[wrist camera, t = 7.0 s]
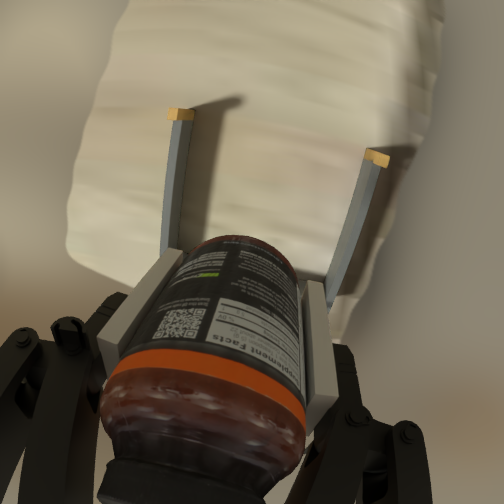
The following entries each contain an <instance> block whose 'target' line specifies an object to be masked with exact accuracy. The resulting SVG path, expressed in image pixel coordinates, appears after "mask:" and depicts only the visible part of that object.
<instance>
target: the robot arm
mask: <svg viewBox="0 0 504 504" xmlns="http://www.w3.org/2000/svg"><path fill="white" fill-rule="evenodd" d="M182 259H183V251H181V250H177V249H173V248H168V249H167V250H166V251H165V252H164V253H163V255H162V256H161V257H160V258H159V259H158V260H157V262H156V263H155V264H154V265H153V266H152V267H151V269H150V270H149V271H148V272H147V273H146V275H145V276H144V277H143V278H142V279H141V281H140V282H139V283H138V284H137V286H136V287H135V288H134V289H133V291H132V292H131V293H130V294H129V295H126V294H123V293H120V292H116V293H114V294H113V295H111V296H109V297H107V298H106V300H105V301H104V302H103V303H102V304H101V306H100V307H99V308H98V309H97V310H96V312H94V314H93V315H92V316H91V317H90V318H89V319H88V321H87V322H86V323H85V324H84V322H83V321H82V320H80V319H79V318H75V317H63V318H60V319H58V320H57V321H55V322H54V323H53V324H52V325H51V327H50V328H51V331H52V334H53V337H54V340H55V342H53V341H47V340H41V339H39V336H38V334H37V332H36V331H35V330H33V329H32V328H28V327H24V328H19V329H17V330H15V331H14V332H13V333H12V334H11V335H10V336H9V337H8V339H7V340H6V341H5V342H4V343H3V345H2V346H1V347H0V504H1V503H2V501H3V498H4V495H5V493H6V490H7V487H8V485H9V483H10V480H11V478H12V476H13V473H14V471H15V469H16V466H17V464H18V462H19V460H20V458H21V455H22V453H23V451H24V449H25V453H24V459H23V464H22V471H21V477H20V485H19V494H18V504H93V490H94V470H95V457H96V446H97V437H98V428H99V420H100V400H101V396H102V393H103V387H102V385H103V384H104V382H105V380H106V379H107V380H109V378H110V376H111V375H112V373H113V371H114V369H115V368H116V366H117V364H118V363H119V361H120V358H121V356H122V355H123V354H124V352H125V350H126V349H127V347H128V345H129V344H130V342H131V341H132V339H133V337H134V336H135V334H136V332H137V331H138V329H139V328H140V326H141V324H142V323H143V321H144V320H145V318H146V316H147V315H148V313H149V312H150V310H151V309H152V307H153V306H154V304H155V302H156V301H157V299H158V298H159V296H160V295H161V293H162V292H163V290H164V288H165V287H166V285H167V284H168V282H169V281H170V279H171V278H172V276H173V275H174V273H175V272H176V271H177V269H178V267H179V266H180V264H181V263H182ZM301 311H302V326H303V345H304V362H305V390H306V416H305V419H306V436H309V435H310V434H311V433H312V431H313V430H314V440H313V441H312V442H311V443H310V445H309V446H308V447H307V448H306V449H305V450H304V454H306V456H305V458H304V461H303V463H302V465H301V468H300V471H299V473H298V475H297V477H296V480H295V482H294V484H293V486H292V488H291V491H290V493H289V495H288V497H287V499H286V501H285V503H284V504H354V503H355V500H356V504H433V501H432V492H431V482H430V474H429V467H428V460H427V454H426V448H425V442H424V437H423V433H422V431H421V429H420V428H419V427H418V426H417V424H415V423H413V422H412V421H407V420H404V421H400V422H398V423H397V424H396V425H394V426H391V425H388V424H385V423H382V422H379V421H377V420H375V419H373V417H372V415H371V413H370V412H369V410H368V409H367V408H365V407H364V406H363V405H362V400H361V394H360V388H359V382H358V377H357V375H356V374H357V371H356V367H355V361H354V356H353V354H352V353H351V351H350V349H349V348H348V346H347V345H340V344H334V343H332V338H331V331H330V325H329V318H328V312H327V306H326V300H325V294H324V288H323V283H320V282H316V281H311V280H307V283H306V286H305V288H304V291H303V294H302V297H301ZM25 447H26V448H25Z"/></svg>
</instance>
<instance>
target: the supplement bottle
mask: <svg viewBox="0 0 504 504" xmlns="http://www.w3.org/2000/svg"><path fill="white" fill-rule="evenodd" d="M305 416H306V390H305V362H304V345H303V326H302V311H301V298H300V291H299V284H298V279H297V277H296V273H295V271H294V269H293V267H292V266H291V264H290V263H289V261H288V260H287V259H286V258H285V257H284V256H283V255H282V254H281V253H280V252H279V251H278V250H277V249H275V248H274V247H273V246H271V245H269V244H267V243H266V242H264V241H261V240H259V239H256V238H253V237H249V236H241V235H225V236H219V237H215V238H213V239H210V240H207V241H205V242H203V243H202V244H200V245H198V246H197V247H195V248H194V249H193V250H192V251H191V252H190V253H189V255H188V256H187V257H186V258H185V259H184V260H183V262H182V263H181V264H180V266H179V267H178V269H177V271H176V272H175V273H174V275H173V276H172V278H171V279H170V281H169V282H168V284H167V285H166V287H165V288H164V290H163V292H162V293H161V295H160V296H159V298H158V299H157V301H156V302H155V304H154V306H153V307H152V309H151V310H150V312H149V313H148V315H147V316H146V318H145V320H144V321H143V323H142V324H141V326H140V328H139V329H138V331H137V332H136V334H135V336H134V337H133V339H132V341H131V342H130V344H129V345H128V347H127V349H126V350H125V352H124V354H123V355H122V356H121V358H120V361H119V363H118V364H117V366H116V368H115V369H114V371H113V373H112V375H111V376H110V378H109V380H108V382H107V384H106V386H105V389H104V391H103V393H102V396H101V400H100V417H101V421H102V424H103V427H104V430H105V431H106V433H107V434H108V436H109V437H110V438H111V439H112V445H113V450H114V456H115V459H113V460H111V461H109V462H108V463H107V465H106V466H107V469H106V472H105V475H104V478H103V481H102V483H101V486H100V488H99V491H98V493H97V498H98V500H99V501H100V502H101V503H102V504H266V503H265V501H264V499H263V498H264V496H265V495H266V494H267V493H268V492H269V491H270V490H271V489H272V488H273V487H274V486H275V485H276V484H277V483H278V482H279V481H280V480H282V479H284V478H285V477H286V476H288V475H289V474H291V473H292V472H293V470H294V469H295V468H296V467H297V466H298V464H299V463H300V461H301V458H302V456H303V454H304V450H305V440H306V419H305Z"/></svg>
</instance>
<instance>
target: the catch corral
mask: <svg viewBox="0 0 504 504" xmlns="http://www.w3.org/2000/svg"><path fill="white" fill-rule="evenodd" d="M194 114H195V110H190V109H180V108H169V111H168V117H167V120H173V126H172V133H171V140H170V147H169V154H168V162H167V171H166V180H165V189H164V200H163V211H162V225H161V240H160V257H161V256H162V255H163V253H164V252H165V251H166V250H167V249H168V248H173V249H177V244H178V233H179V223H180V213H181V204H182V195H183V187H184V179H185V172H186V164H187V157H188V151H189V144H190V138H191V132H192V126H193V120H194ZM389 159H390V156H387V155H385V154H382V153H379V152H377V151H374V150H371V149H368V148H366V152H365V155H364V159H363V163H362V166H361V170H360V174H359V177H358V181H357V184H356V188H355V191H354V194H353V198H352V201H351V204H350V207H349V211H348V214H347V217H346V220H345V223H344V226H343V229H342V232H341V235H340V238H339V241H338V244H337V247H336V250H335V253H334V256H333V259H332V262H331V264H330V267H329V270H328V273H327V275H326V278H325V281H324V284H323V288H324V294H325V300H326V306H327V312H328V314H329V312H330V309H331V307H332V304H333V302H334V300H335V297H336V295H337V293H338V290H339V288H340V285H341V283H342V280H343V278H344V275H345V273H346V270H347V267H348V265H349V262H350V259H351V257H352V254H353V251H354V249H355V246H356V243H357V240H358V238H359V235H360V232H361V229H362V226H363V223H364V220H365V217H366V214H367V211H368V208H369V205H370V202H371V199H372V196H373V192H374V189H375V186H376V182H377V179H378V176H379V172H380V169H381V167H384V168H387V166H388V162H389ZM188 255H189V254H187V253H183V259H182V262H183V260H184V259H185V258H186V257H187V256H188ZM306 283H307V281H304V280H299V279H298V284H299V291H300V298H301V297H302V294H303V291H304V288H305V286H306Z"/></svg>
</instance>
